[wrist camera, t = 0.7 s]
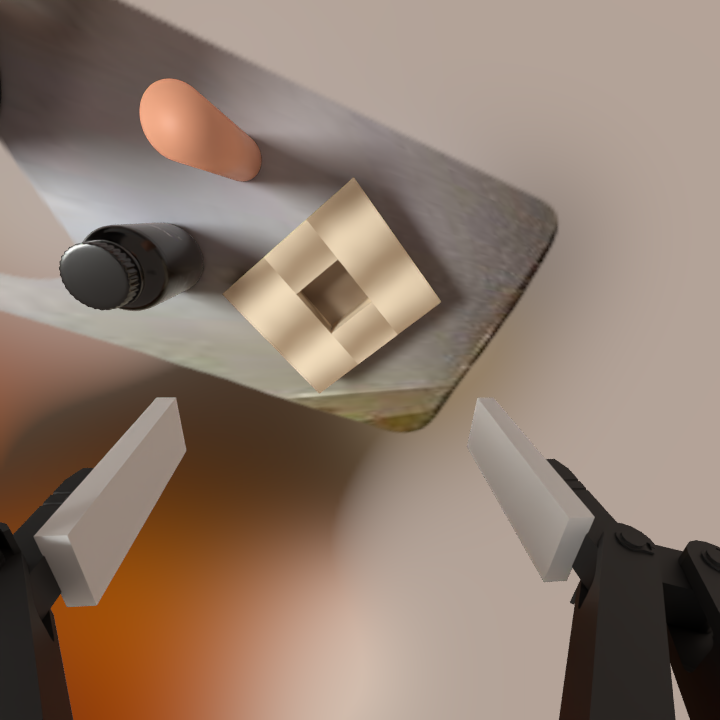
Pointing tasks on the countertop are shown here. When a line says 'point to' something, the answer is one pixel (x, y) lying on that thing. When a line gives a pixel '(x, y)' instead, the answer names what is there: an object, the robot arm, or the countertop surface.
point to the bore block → (334, 289)
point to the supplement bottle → (131, 266)
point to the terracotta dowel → (196, 131)
